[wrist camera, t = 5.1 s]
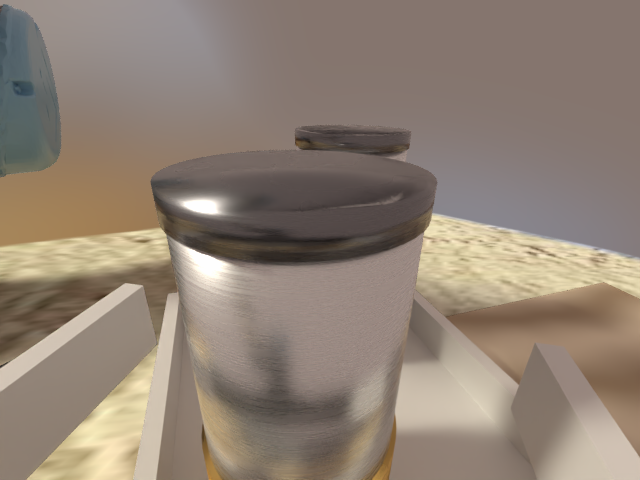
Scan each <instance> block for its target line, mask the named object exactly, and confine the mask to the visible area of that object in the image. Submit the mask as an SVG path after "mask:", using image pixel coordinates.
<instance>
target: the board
mask: <svg viewBox="0 0 640 480" xmlns="http://www.w3.org/2000/svg"><path fill="white" fill-rule="evenodd" d="M446 318H447V319H448V320H449V321H450V322H451V323H452V324H453V325H454V326H455V327H456V328H458V329H459V330H460V331H461V332H462V333H463V334H464V335H465V336H466V337H467V338H468V339H469V340H471V341H472V342H473V343H474V344H475V345H476V346H477V347H478V348H479V349H480V350H481V351H482V352H484V353H485V354H486V355H487V356H488V357H489V358H490V359H491V360H492V361H493V362H494V363H495V364H497V365H498V366H499V367H500V368H501V369H502V370H503V371H504V372H505V373H506V374H507V375H508V376H510V377H511V378H512V379H513V380H514V381H515V382H516V383H517V384H518V385H519V384H520V381H521V379H522V376H523V373H524V371H525V368H526V365H527V363H528V360H529V357H530V354H531V352H532V349H533V346H534V344H535V342H536V343H542V344H549V345H556V346H563V347H565V349H566V350H567V352H568V353H569V354H570V356H571V357H572V359H573V360H574V362H575V363H576V365H577V366H578V368H579V369H580V371H581V372H582V374H583V375H584V376H585V378H586V379H587V381H588V382H589V384H590V385H591V387H592V388H593V390H594V391H595V393H596V394H597V396H598V397H599V398H600V400H601V401H602V403H603V404H604V406H605V407H606V409H607V410H608V412H609V413H610V415H611V416H612V418H613V419H614V420H615V422H616V423H617V425H618V426H619V428H620V429H621V431H622V432H623V434H624V435H625V437H626V438H627V440H628V441H629V443H630V444H631V445H632V447H633V448H634V450H635V451H636V453H637V454H638V456H639V457H640V299H639V298H637V297H634V296H632V295H630V294H628V293H626V292H624V291H622V290H620V289H617V288H615V287H613V286H611V285H609V284H607V283H605V282H603V283H599V284H594V285H590V286H585V287H580V288H576V289H571V290H567V291H562V292H558V293H553V294H548V295H544V296H539V297H535V298H530V299H525V300H521V301H516V302H512V303H507V304H502V305H498V306H493V307H489V308H484V309H479V310H475V311H470V312H466V313H461V314H456V315H452V316H447V317H446Z"/></svg>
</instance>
